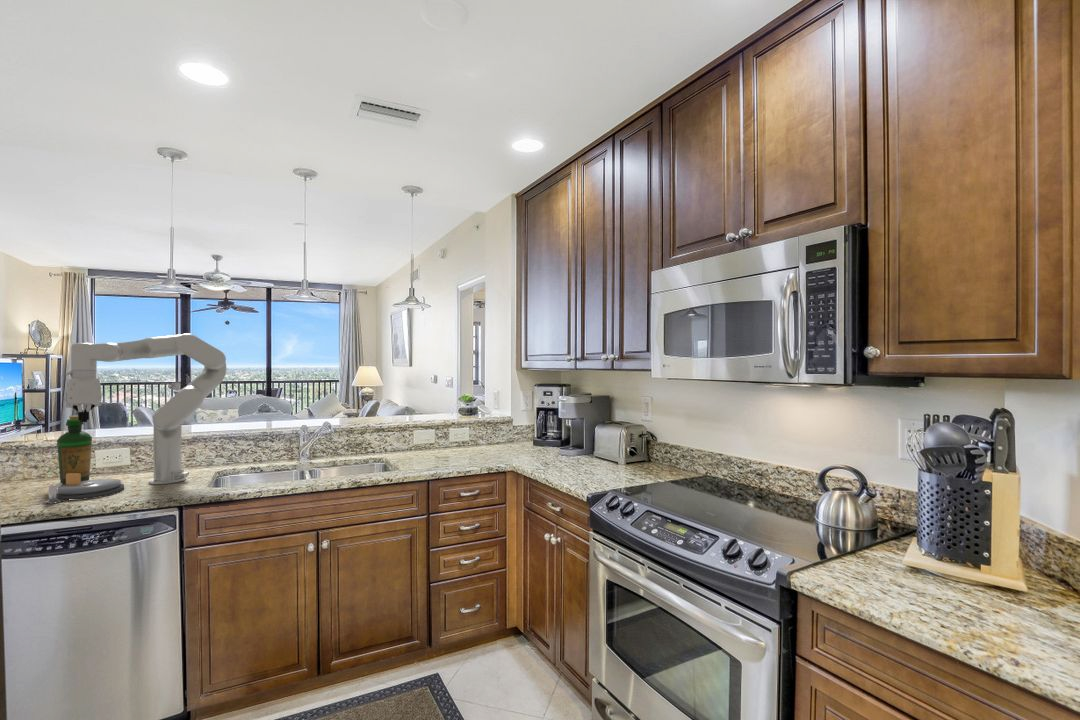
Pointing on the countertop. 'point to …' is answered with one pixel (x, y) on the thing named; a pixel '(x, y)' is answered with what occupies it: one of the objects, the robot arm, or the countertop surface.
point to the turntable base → (92, 494)
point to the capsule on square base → (53, 494)
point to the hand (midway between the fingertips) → (83, 421)
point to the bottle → (74, 450)
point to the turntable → (86, 485)
